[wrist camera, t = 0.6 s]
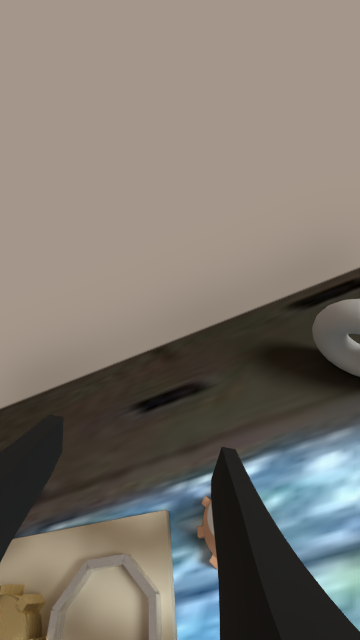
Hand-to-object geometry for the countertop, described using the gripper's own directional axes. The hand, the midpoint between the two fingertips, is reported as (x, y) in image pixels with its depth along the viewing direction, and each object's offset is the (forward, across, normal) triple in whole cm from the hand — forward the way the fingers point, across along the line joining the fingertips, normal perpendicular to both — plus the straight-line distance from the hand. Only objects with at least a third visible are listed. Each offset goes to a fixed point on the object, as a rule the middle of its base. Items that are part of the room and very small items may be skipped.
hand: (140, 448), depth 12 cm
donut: (+18, -22, +2) cm, 28 cm away
